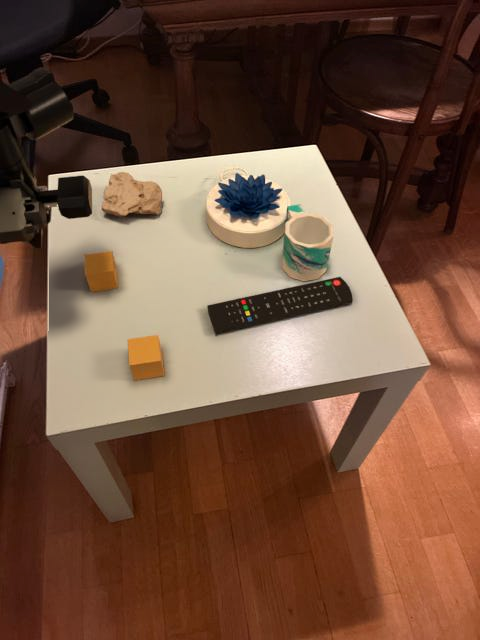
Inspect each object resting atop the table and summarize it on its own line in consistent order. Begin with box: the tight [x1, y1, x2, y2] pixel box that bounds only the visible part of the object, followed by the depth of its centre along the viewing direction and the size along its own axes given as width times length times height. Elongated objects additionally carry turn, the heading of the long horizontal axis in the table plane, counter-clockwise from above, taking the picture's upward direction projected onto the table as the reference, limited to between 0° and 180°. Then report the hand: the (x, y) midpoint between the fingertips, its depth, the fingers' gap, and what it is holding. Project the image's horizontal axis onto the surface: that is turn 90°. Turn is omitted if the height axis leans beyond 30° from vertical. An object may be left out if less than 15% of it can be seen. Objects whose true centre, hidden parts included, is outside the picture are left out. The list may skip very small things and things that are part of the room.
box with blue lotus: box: [205, 166, 292, 249], centre depth 91 cm, size 7×16×20 cm
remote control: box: [206, 276, 354, 335], centre depth 80 cm, size 5×24×1 cm, turn 106°
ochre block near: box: [127, 334, 165, 381], centre depth 72 cm, size 4×4×4 cm
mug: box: [281, 203, 334, 282], centre depth 84 cm, size 8×12×8 cm
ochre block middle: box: [84, 250, 119, 293], centre depth 81 cm, size 4×4×4 cm
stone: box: [101, 171, 163, 218], centre depth 91 cm, size 9×11×5 cm
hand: (39, 246), depth 72 cm, fingers closed
